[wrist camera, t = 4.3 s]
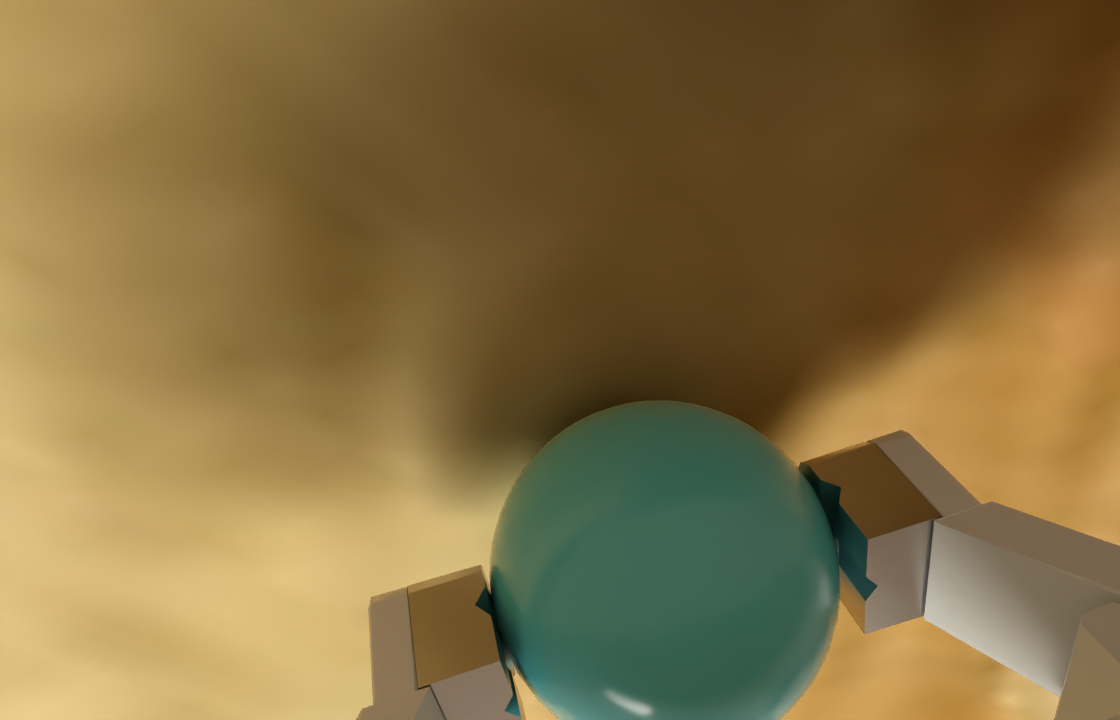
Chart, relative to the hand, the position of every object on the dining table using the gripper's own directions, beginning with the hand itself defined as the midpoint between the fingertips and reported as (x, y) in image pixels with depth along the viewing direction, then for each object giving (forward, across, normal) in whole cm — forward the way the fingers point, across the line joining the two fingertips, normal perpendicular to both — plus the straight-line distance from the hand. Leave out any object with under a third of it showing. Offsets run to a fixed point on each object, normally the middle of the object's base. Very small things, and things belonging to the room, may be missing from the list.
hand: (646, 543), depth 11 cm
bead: (0, 0, 0) cm, 0 cm away
